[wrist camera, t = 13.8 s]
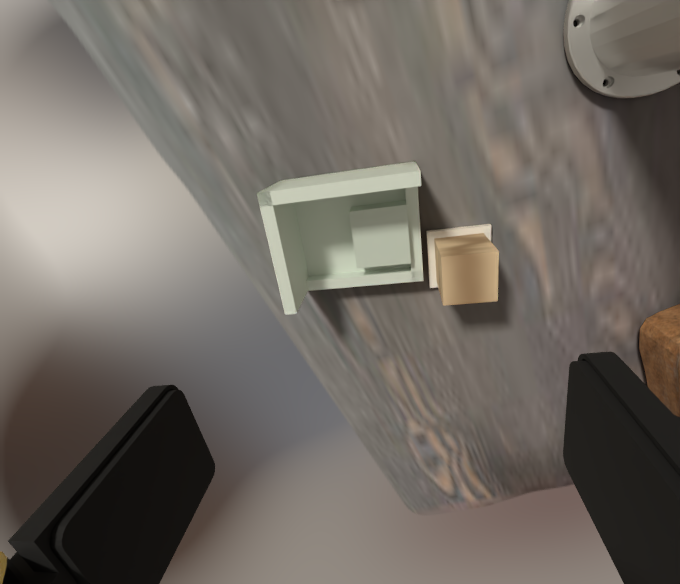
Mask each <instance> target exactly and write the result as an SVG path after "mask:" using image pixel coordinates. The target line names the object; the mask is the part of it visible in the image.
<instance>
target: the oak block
mask: <svg viewBox="0 0 680 584" xmlns="http://www.w3.org/2000/svg"><path fill="white" fill-rule="evenodd" d="M434 243H435V261H436V280H437V285H438V288H439V292H440V295H441V299H442V302H443V306H444V305H456V304H469V303H482V302H494V301H498V261H499V251H498V250H497V249H496V247H495V246H494V245H493V244H492V243H491V241H490V240H489V239H488V238H487V237H486V235H485V234H484V233H479V234H470V235H461V236H452V237H443V238H434Z"/></svg>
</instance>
